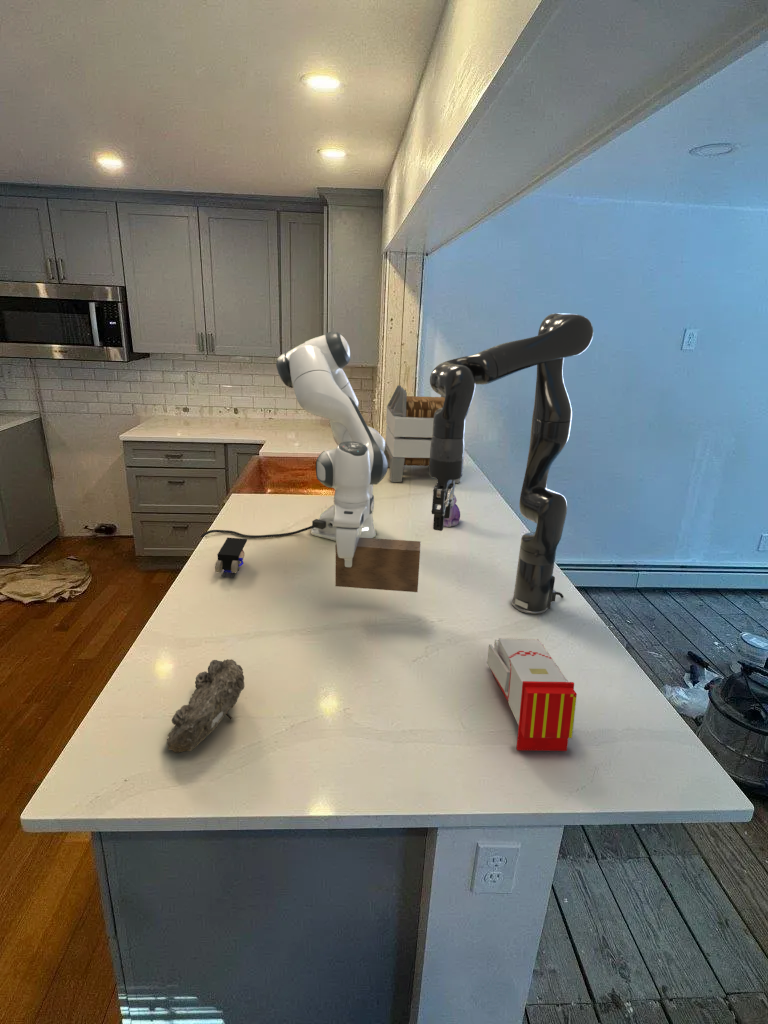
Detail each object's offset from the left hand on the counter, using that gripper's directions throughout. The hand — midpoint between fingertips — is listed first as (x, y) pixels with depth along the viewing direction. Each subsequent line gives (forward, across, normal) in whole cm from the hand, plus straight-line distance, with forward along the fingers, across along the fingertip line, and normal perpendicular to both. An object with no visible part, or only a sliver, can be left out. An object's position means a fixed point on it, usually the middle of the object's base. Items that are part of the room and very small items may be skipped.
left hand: (350, 560), depth 144 cm
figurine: (+15, -69, +27) cm, 76 cm away
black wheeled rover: (+14, -17, -38) cm, 44 cm away
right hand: (-14, +6, +22) cm, 27 cm away
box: (+6, 0, +7) cm, 9 cm away
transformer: (+15, -135, +14) cm, 137 cm away
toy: (+14, +32, +40) cm, 53 cm away
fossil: (+14, +45, -20) cm, 51 cm away
